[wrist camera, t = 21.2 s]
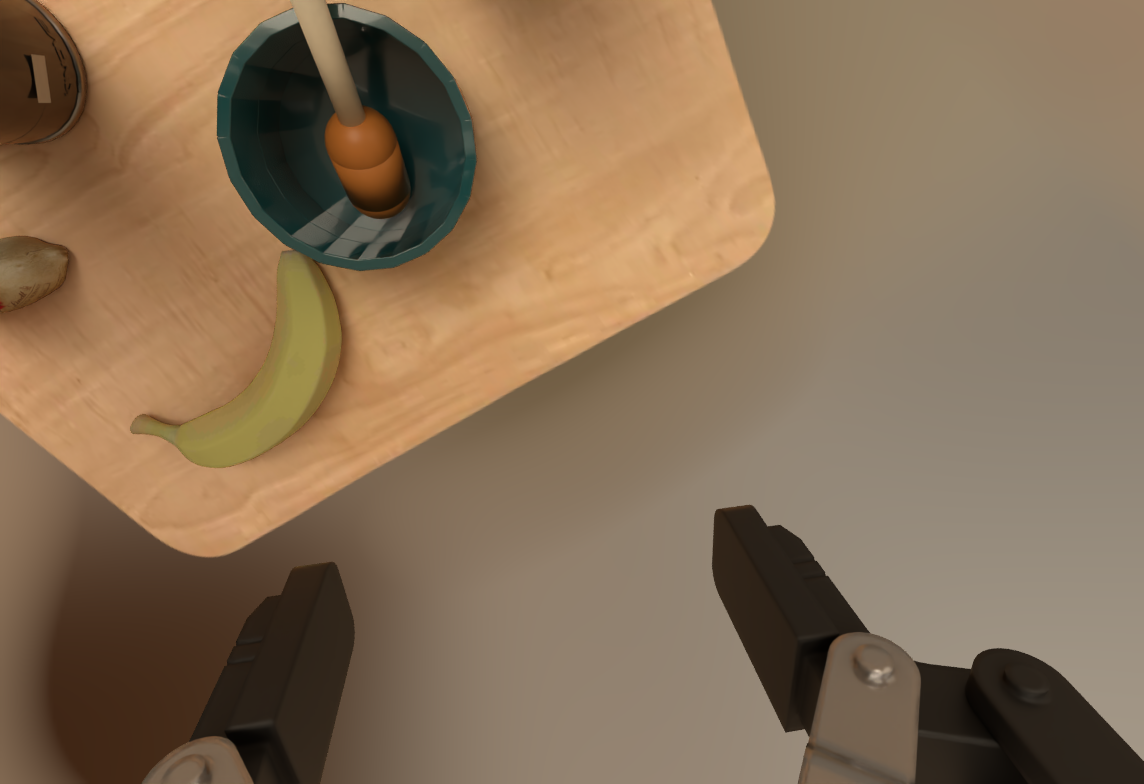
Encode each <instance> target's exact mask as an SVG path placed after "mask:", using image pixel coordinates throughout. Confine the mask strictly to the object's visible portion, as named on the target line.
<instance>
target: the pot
mask: <svg viewBox="0 0 1144 784" xmlns="http://www.w3.org/2000/svg"><path fill="white" fill-rule="evenodd" d="M327 6H328V9H329V12H330V15H331V18H332V21H333V24H334V26H335V29H336V32H337V35H338V38H339V41H340V44H341V46H342V49H343V52H344V55H345V58H346V61H347V64H348V66H349V69H350V72H351V75H352V78H353V81H354V84H355V86H356V89H357V92H358V95H359V98H360V101H361V104H362V105H364V106H368V107H370V108H373V109H375V110H377V111H378V112H379V113H381V114H382V115H383V116H384V117H385V118H386V119H387V120H388V121H389V123H390V124H391V125H392V128H393V130H394V132H395V134H396V137H397V141H398V144H399V147H400V150H401V154H402V157H403V160H404V164H405V167H406V170H407V174H408V177H409V180H410V186H411V192H410V198H409V201H408V203H407V205H406V206H405V208H404V209H403V210H402V211H401V212H400V213H399V214H397V215H395V216H393V217H391V218H387V219H375V218H371V217H368V216H366V215H364V214H362V213H361V212H359V211H358V210H357V209H356V208H355V207H354V206H353V205H352V203H351V202H350V200H349V198H348V196H347V194H346V192H345V190H344V188H343V185H342V183H341V181H340V179H339V177H338V174H337V172H336V170H335V168H334V166H333V163H332V161H331V159H330V157H329V155H328V152H327V149H326V146H325V129H326V126H327V123H328V121H329V120H330V118H331V117H332V115H333V114H334V113H335V110H334V107H333V105H332V102H331V100H330V97H329V95H328V92H327V90H326V87H325V85H324V82H323V80H322V78H321V75H320V73H319V70H318V68H317V65H316V63H315V60H314V58H313V55H312V53H311V50H310V48H309V45H308V43H307V41H306V38H305V36H304V33H303V31H302V28H301V26H300V23H299V21H298V18H297V16H296V13H295V11H294V8H292V9H289V10H287V11H285V12H283V13H281V14H278V15H276V16H274V17H272V18H270V19H267V20H265V21H263V22H261V23H260V24H259V25H258V26H257V27H256V28H255V29H254V30H253V32H252V33H251V34H250V35H249V36H248V37H247V38H246V39H245V40H244V41H243V42H242V43H241V45H240V46H239V47H238V48H237V49H236V50H235V51H234V52H233V54H232V56H231V59H230V61H229V64H228V66H227V69H226V72H225V74H224V77H223V80H222V82H221V85H220V88H219V90H218V95H217V136H218V137H217V139H218V142H219V146H220V149H221V152H222V156H223V159H224V162H225V166H226V169H227V172H228V176H229V178H230V181H231V182H232V184H233V185H234V187H235V189H236V190H237V192H238V193H239V195H240V196H241V198H242V200H243V201H244V203H245V204H246V206H247V207H248V209H249V210H250V212H251V214H252V215H253V216H254V217H255V218H256V219H257V220H258V221H259V222H260V223H261V224H262V225H263V226H265V227H266V228H267V229H268V230H269V231H270V232H271V233H272V234H273V235H274V236H276V237H277V238H278V239H279V240H280V241H281V242H282V243H283V244H285V245H286V246H288V247H290V248H292V249H294V250H296V251H298V252H300V253H302V254H304V255H306V256H308V257H310V258H311V259H313V260H315V261H317V262H319V263H322V264H326V265H331V266H336V267H341V268H346V269H351V270H356V271H365V270H375V269H386V268H394V267H397V266H399V265H402V264H404V263H406V262H409V261H411V260H413V259H415V258H418V257H420V256H422V255H425V254H426V253H428V252H429V251H430V250H431V249H432V248H434V247H435V246H436V245H437V244H438V243H439V242H440V241H441V240H442V239H443V238H444V237H445V236H447V235H448V234H449V233H450V232H451V231H452V229H453V228H454V227H455V225H456V223H457V221H458V219H459V218H460V216H461V214H462V212H463V210H464V208H465V206H466V205H467V203H468V201H469V199H470V196H471V191H472V185H473V179H474V174H475V168H476V162H477V155H476V145H475V137H474V129H473V121H472V116H471V113H470V111H469V108H468V106H467V104H466V101H465V99H464V97H463V94H462V92H461V90H460V87H459V85H458V83H457V82H456V80H455V78H454V77H453V76H452V74H451V73H450V72H449V71H448V70H447V68H446V67H445V66H444V65H443V63H442V62H441V61H440V60H439V58H438V57H437V56H436V55H435V54H434V52H433V51H432V50H431V49H430V47H429V46H428V45H427V44H426V43H425V42H424V41H423V40H421V39H420V38H418V37H417V36H415V35H414V34H412V33H411V32H409V31H408V30H407V29H405V28H404V27H402V26H401V25H399V24H398V23H396V22H395V21H393V20H392V19H391V18H389V17H387V16H385V15H382V14H379V13H375V12H372V11H369V10H365V9H362V8H359V7H355V6H352V5H349V4H346V3H331V4H327Z"/></svg>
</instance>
